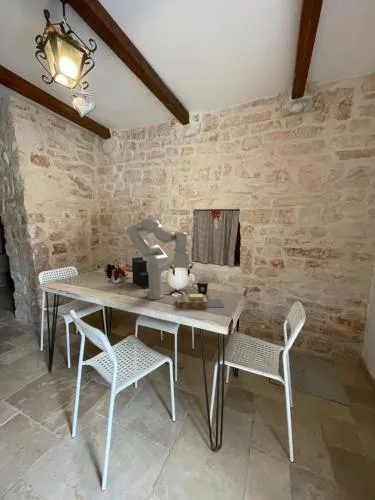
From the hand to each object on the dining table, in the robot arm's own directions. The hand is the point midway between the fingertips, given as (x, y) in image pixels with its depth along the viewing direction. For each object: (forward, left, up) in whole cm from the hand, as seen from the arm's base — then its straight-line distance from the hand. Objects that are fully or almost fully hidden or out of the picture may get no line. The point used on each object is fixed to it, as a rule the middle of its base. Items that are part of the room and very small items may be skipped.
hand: (181, 275), depth 149 cm
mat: (+23, 0, -20) cm, 31 cm away
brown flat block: (+7, 0, -20) cm, 21 cm away
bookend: (-34, +45, -21) cm, 60 cm away
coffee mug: (+15, +20, -20) cm, 32 cm away
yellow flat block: (+10, 0, -16) cm, 19 cm away
